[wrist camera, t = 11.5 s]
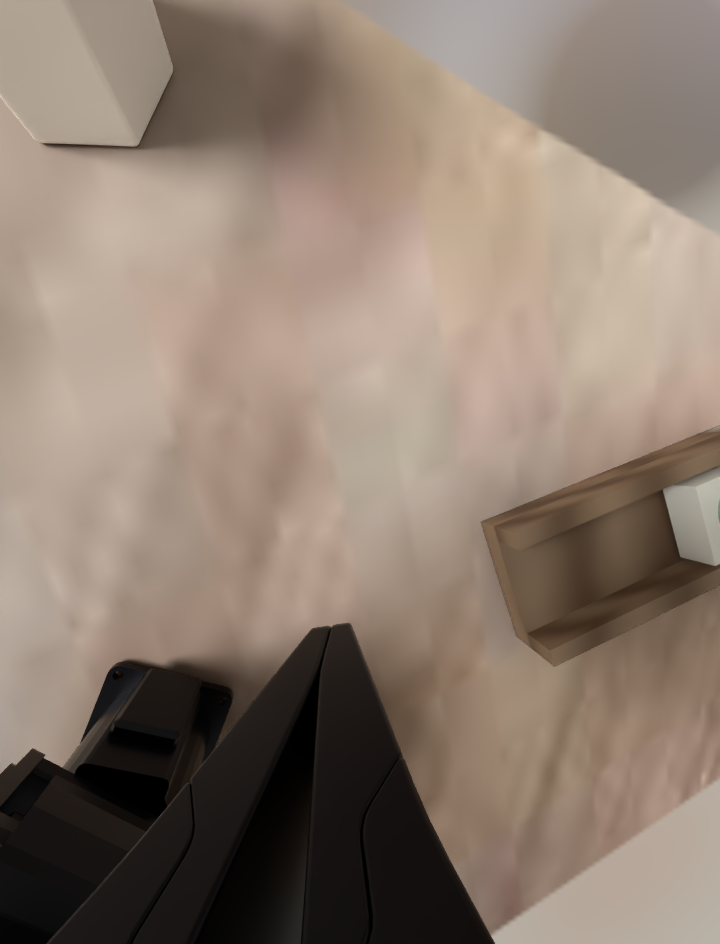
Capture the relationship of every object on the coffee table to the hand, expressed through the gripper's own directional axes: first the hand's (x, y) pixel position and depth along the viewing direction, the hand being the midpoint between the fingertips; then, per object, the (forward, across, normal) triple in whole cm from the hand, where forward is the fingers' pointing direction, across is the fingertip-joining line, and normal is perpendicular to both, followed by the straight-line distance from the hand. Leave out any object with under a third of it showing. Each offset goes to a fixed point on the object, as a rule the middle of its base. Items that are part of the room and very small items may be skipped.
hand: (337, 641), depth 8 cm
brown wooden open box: (+17, -17, +9) cm, 26 cm away
